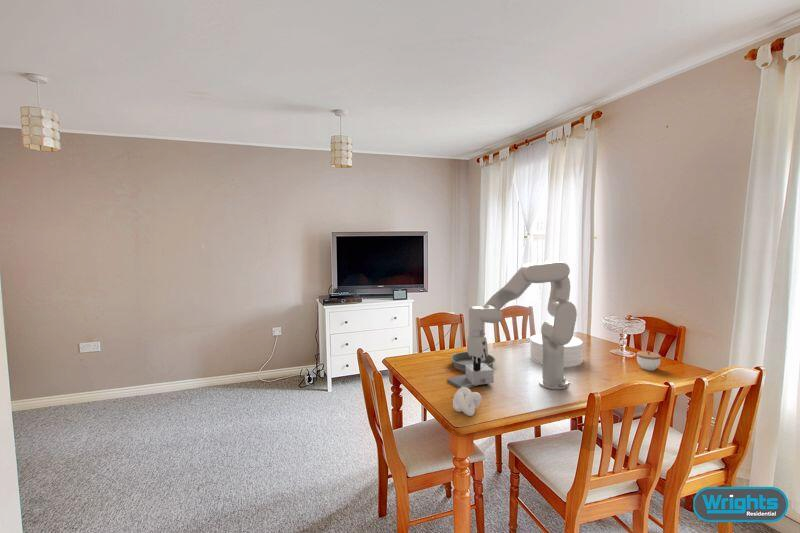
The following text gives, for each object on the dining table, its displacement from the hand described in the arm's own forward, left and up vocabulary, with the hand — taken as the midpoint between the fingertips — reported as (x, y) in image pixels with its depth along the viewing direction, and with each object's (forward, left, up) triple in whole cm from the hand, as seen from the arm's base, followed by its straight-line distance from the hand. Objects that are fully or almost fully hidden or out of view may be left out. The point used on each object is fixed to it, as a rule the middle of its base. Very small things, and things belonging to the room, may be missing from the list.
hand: (476, 370), depth 181 cm
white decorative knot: (-18, +20, -8) cm, 28 cm away
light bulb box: (-2, -2, -3) cm, 5 cm away
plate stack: (+7, -65, -9) cm, 66 cm away
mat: (+7, +1, -8) cm, 11 cm away
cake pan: (+24, -18, -9) cm, 32 cm away
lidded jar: (-30, -92, -8) cm, 97 cm away
